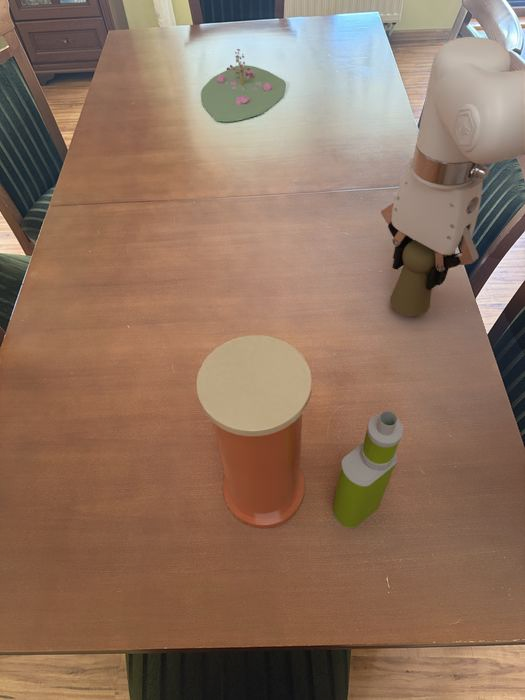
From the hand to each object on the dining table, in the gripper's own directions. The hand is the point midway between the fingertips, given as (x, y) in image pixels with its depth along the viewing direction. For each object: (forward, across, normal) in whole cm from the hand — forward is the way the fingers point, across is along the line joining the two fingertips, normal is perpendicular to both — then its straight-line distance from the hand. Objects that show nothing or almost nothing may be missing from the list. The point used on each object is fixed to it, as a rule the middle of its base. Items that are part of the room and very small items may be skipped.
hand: (417, 273), depth 74 cm
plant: (+6, +71, -27) cm, 76 cm away
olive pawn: (+6, 0, 0) cm, 6 cm away
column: (+8, -6, +36) cm, 37 cm away
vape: (+9, -15, +29) cm, 34 cm away
